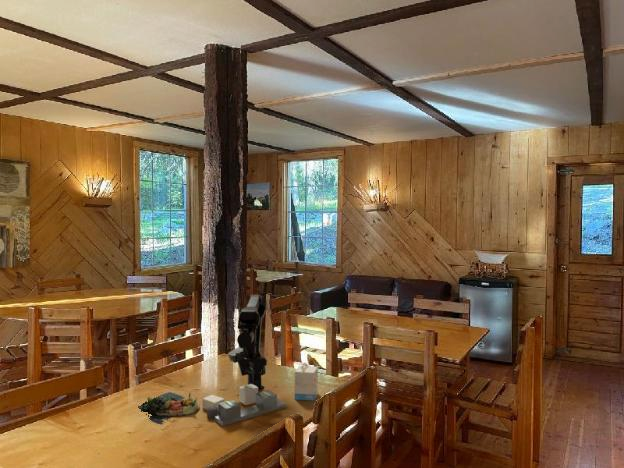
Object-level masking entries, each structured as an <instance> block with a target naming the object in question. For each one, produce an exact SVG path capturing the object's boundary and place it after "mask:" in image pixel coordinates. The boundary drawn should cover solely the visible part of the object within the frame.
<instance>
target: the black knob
mask: <svg viewBox="0 0 624 468" xmlns="http://www.w3.org/2000/svg"><path fill="white" fill-rule="evenodd" d="M206 412H207V413H206V417H207V419H209V420H210V419H211V420H213V419H214V420H215V416H218V407H214V406H213V407H209V408H207V410H206Z"/></svg>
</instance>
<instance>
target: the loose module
mask: <svg viewBox="0 0 624 468" xmlns="http://www.w3.org/2000/svg"><path fill="white" fill-rule="evenodd" d="M256 393H259V389H258V387H257V386H255V385H253V384H249V385H248V384H244V385H242V386H239V387H238V401H239V402H240V404H241V405H245V406H247V405H252V404H256ZM239 402H238V403H239Z"/></svg>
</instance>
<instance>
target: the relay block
mask: <svg viewBox="0 0 624 468" xmlns="http://www.w3.org/2000/svg"><path fill="white" fill-rule="evenodd" d="M222 402H225V398H223V397H220V396H217V395H215V394H211V395H207V396H206V397H203V398H202V409H204V410H205V411H207V408H209V407H213V406H214V407H218V404H219V403H222Z"/></svg>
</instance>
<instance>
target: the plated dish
mask: <svg viewBox="0 0 624 468" xmlns="http://www.w3.org/2000/svg"><path fill="white" fill-rule="evenodd" d="M157 396H158V397H157ZM157 396H154V397H152V398H151V397H150V396H148V397H147V398H146V400H145V401H144V402H145V403H143V404H142V405H141V406H138V408H139V409H141V412H142V411H143V412H148V414H151V415H152V416H150V418H149V419H150V420H151V421H150V420H149V421H150V422H152V423H155V424H157V425H159V424H160V425H161V426H162V425H164V424H165V423H166V421H167V422H168V421H169V420H171V419H174V418H177V417H182V416H190V415H191V414H194V413H197V411H199V409H200V408H201V406H200V404H199V403H198V402H197V398H194V397H192V396H191V392H189V394H188V397H187V399H185V397H184V396H183V395H180V394H177V393H174V392H171V391H170V392H169V391H168V392H166V393H162V394H160V396H159V395H157ZM155 397H156V398H155ZM147 401H148V402H147ZM148 417H149V415H148ZM160 425H159V426H160Z"/></svg>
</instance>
